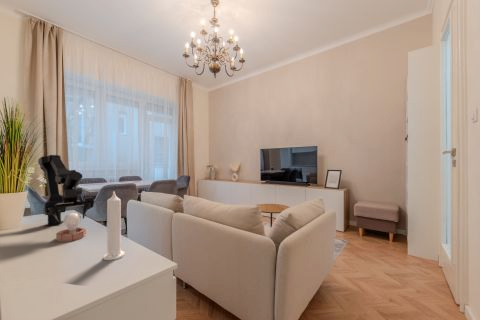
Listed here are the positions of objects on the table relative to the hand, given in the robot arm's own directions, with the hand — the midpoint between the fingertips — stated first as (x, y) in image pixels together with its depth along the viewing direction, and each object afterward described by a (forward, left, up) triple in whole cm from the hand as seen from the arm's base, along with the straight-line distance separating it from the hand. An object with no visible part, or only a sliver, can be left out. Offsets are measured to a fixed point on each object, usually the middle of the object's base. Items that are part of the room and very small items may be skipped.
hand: (71, 219), depth 102 cm
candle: (+27, +22, -9) cm, 36 cm away
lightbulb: (-1, 0, -8) cm, 8 cm away
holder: (-1, -1, -9) cm, 9 cm away
